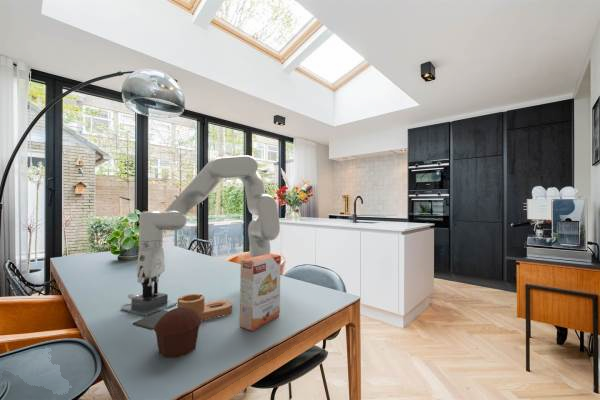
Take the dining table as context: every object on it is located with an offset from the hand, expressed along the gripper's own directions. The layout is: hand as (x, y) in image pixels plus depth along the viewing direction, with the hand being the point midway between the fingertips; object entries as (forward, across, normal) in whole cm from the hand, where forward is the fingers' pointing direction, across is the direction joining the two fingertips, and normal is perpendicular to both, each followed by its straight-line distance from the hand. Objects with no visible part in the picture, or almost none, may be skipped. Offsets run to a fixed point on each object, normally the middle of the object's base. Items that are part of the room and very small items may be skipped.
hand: (150, 294), depth 98 cm
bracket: (+5, -5, -23) cm, 24 cm away
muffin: (+5, -26, -24) cm, 36 cm away
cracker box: (+5, -8, -43) cm, 44 cm away
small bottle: (+3, 0, 0) cm, 3 cm away
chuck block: (+4, +1, +2) cm, 5 cm away
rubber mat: (+4, -10, -9) cm, 14 cm away
